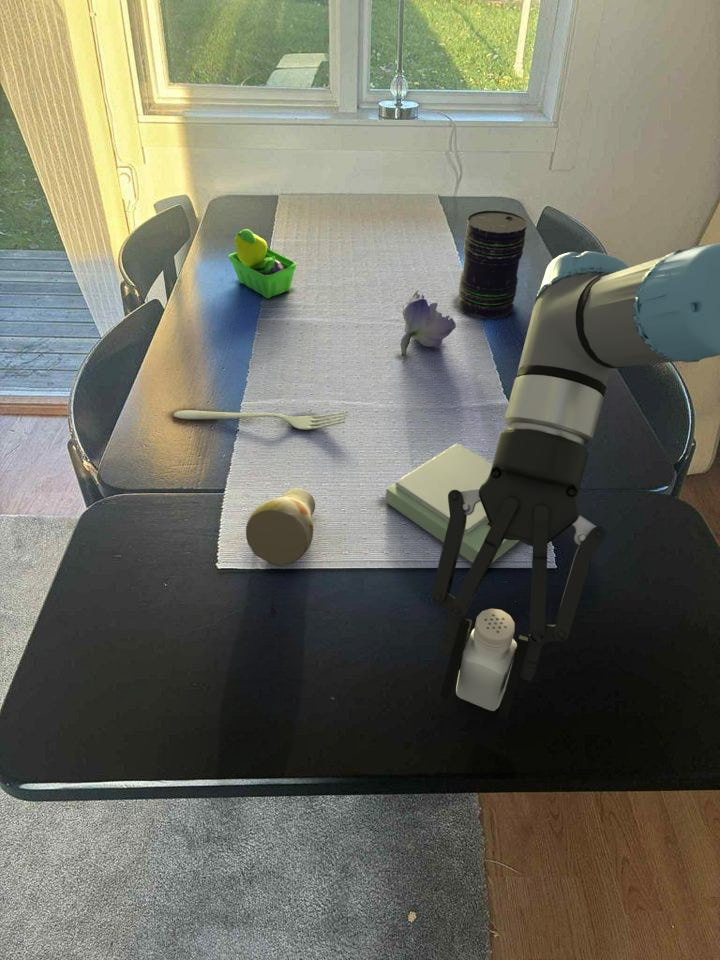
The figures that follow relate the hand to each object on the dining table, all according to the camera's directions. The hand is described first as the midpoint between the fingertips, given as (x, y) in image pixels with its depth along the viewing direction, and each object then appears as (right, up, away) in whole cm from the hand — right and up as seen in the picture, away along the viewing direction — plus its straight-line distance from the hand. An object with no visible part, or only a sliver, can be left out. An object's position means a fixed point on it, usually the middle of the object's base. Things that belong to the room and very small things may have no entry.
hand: (475, 704), depth 59 cm
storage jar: (+13, +50, +65) cm, 83 cm away
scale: (+3, +15, +25) cm, 30 cm away
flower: (0, +40, +54) cm, 68 cm away
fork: (-24, +27, +38) cm, 52 cm away
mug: (-18, +12, +21) cm, 30 cm away
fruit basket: (-28, +54, +70) cm, 92 cm away
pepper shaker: (+1, 0, +5) cm, 5 cm away
